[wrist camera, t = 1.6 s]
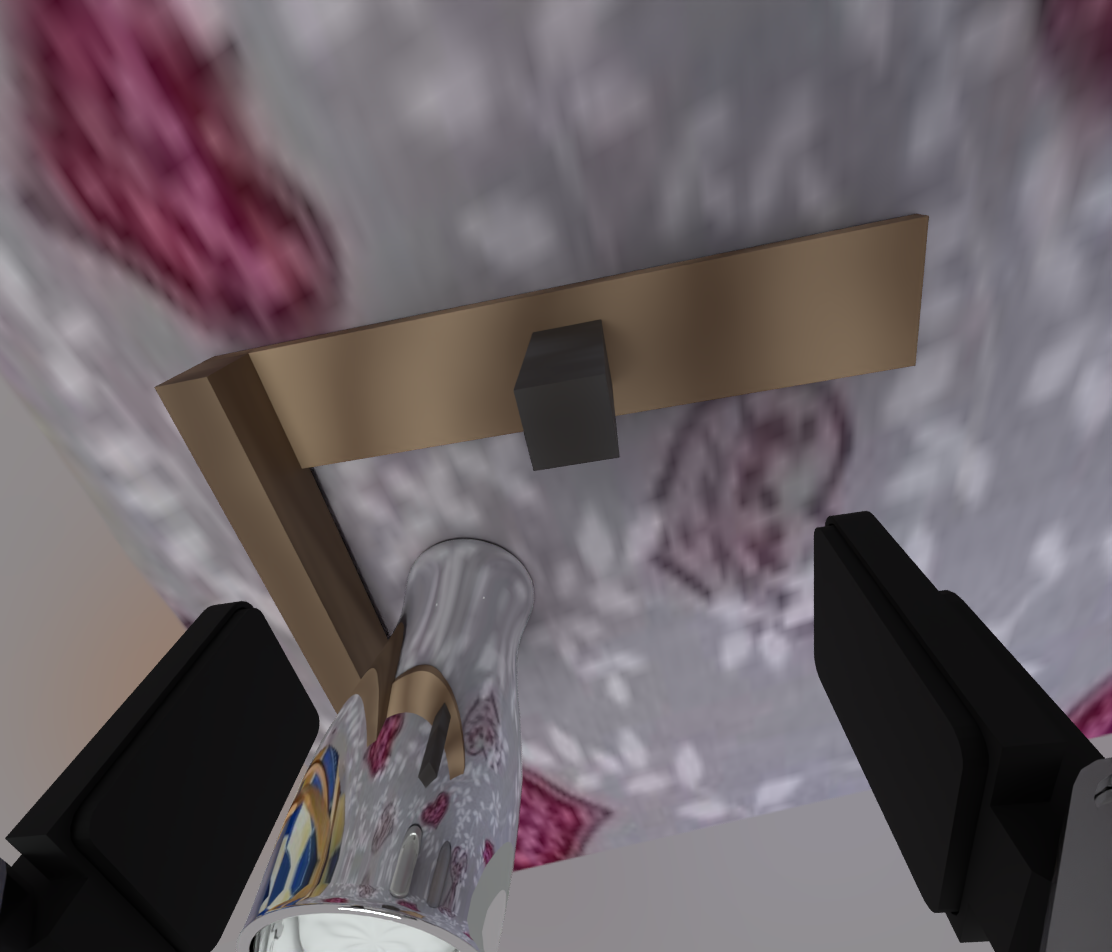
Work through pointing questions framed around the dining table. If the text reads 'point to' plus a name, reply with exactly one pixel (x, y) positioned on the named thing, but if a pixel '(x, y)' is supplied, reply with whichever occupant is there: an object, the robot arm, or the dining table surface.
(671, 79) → the dining table surface
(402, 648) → the beer glass
